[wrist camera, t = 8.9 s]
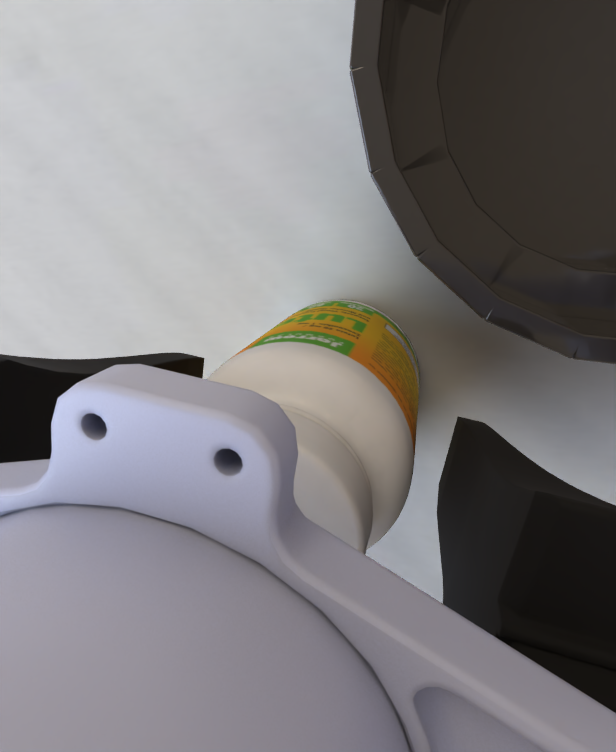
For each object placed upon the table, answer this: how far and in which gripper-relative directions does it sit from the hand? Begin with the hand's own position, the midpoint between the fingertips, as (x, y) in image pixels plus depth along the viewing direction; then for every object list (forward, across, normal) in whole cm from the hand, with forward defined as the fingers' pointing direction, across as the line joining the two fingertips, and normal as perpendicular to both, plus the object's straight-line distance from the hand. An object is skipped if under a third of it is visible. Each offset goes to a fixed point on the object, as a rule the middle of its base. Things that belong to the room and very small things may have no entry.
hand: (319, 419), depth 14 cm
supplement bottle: (+4, 0, 0) cm, 4 cm away
